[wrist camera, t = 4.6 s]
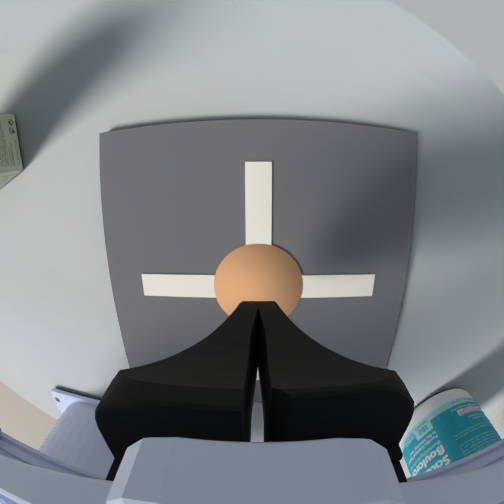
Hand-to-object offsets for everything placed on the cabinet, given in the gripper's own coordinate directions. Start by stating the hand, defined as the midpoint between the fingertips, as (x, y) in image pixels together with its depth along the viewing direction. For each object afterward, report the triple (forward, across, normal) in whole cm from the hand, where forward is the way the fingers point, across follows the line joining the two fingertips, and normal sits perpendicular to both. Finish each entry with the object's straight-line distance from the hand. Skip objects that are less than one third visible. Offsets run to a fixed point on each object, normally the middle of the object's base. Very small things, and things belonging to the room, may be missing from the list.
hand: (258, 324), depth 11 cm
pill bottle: (+5, -15, +13) cm, 20 cm away
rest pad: (+4, 0, 0) cm, 4 cm away
